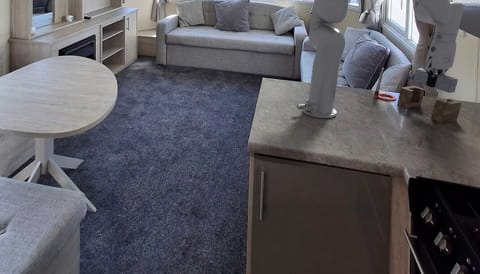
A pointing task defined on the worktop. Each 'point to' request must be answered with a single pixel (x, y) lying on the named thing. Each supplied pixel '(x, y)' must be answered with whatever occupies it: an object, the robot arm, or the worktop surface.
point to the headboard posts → (441, 111)
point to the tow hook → (378, 95)
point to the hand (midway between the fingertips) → (433, 85)
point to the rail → (437, 80)
